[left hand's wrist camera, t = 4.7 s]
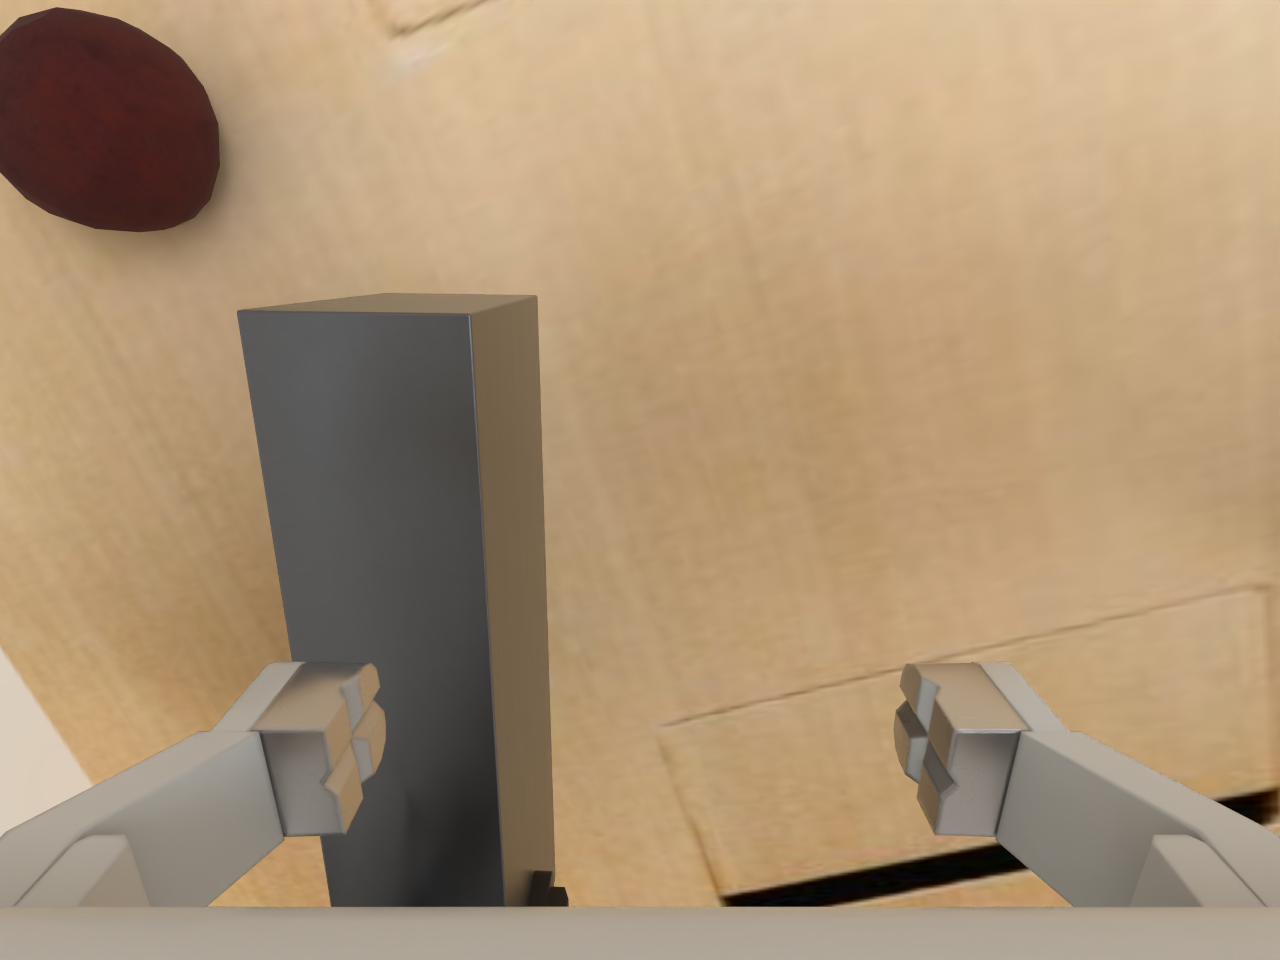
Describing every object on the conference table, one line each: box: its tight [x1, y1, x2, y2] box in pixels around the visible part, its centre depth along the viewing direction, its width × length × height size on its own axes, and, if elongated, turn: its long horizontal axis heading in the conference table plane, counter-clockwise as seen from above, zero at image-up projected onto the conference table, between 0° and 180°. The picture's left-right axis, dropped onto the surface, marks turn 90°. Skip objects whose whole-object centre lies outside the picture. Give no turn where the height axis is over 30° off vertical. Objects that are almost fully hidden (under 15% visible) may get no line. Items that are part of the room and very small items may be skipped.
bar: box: [237, 293, 555, 907], centre depth 23 cm, size 26×5×9 cm, turn 179°
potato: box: [0, 7, 220, 232], centre depth 26 cm, size 7×8×7 cm
